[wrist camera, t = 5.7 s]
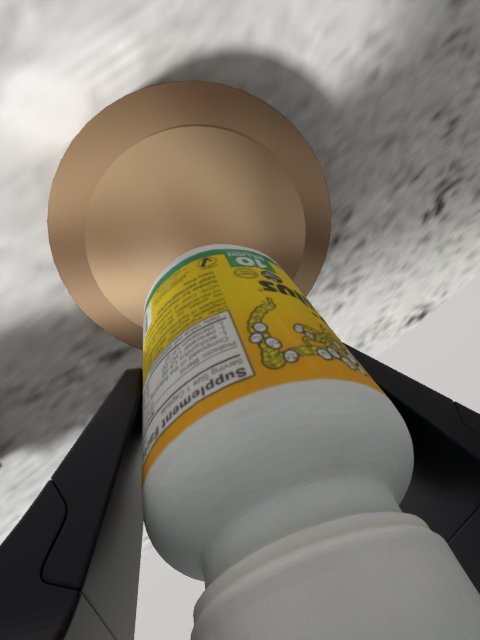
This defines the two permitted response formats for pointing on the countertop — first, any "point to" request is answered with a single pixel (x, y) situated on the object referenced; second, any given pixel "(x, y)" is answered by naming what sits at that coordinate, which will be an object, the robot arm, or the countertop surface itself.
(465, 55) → the countertop surface
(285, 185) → the plate
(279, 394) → the supplement bottle
